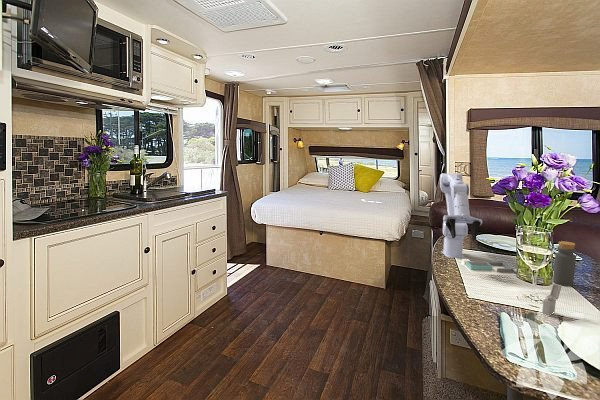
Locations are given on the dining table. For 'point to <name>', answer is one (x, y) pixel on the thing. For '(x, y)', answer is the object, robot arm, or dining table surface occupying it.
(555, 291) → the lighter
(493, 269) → the board
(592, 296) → the dining table surface
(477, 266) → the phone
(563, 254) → the bottle
